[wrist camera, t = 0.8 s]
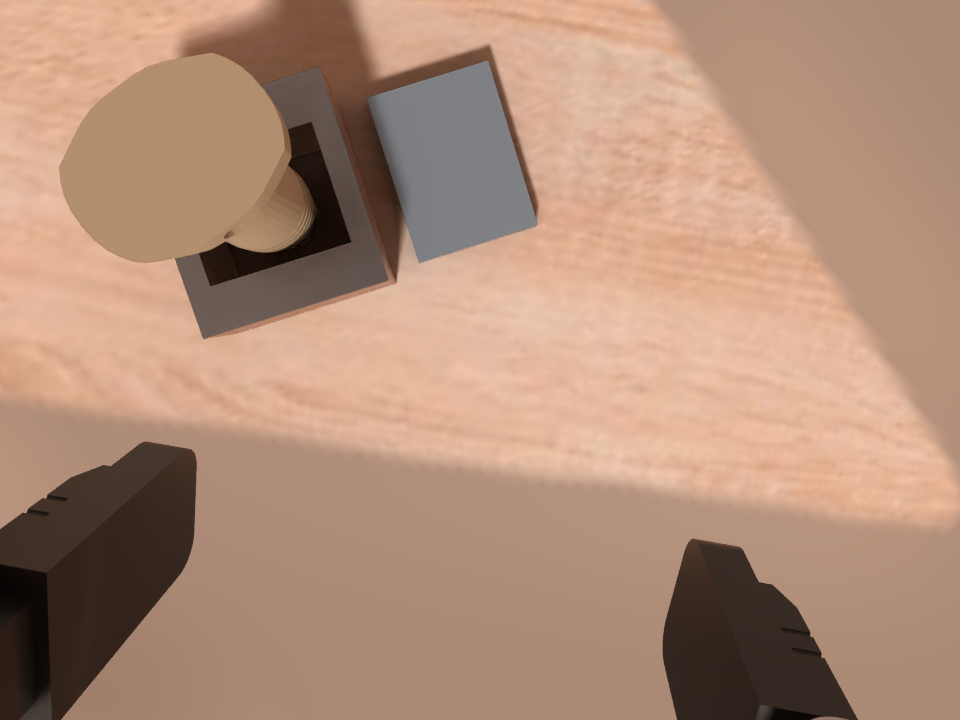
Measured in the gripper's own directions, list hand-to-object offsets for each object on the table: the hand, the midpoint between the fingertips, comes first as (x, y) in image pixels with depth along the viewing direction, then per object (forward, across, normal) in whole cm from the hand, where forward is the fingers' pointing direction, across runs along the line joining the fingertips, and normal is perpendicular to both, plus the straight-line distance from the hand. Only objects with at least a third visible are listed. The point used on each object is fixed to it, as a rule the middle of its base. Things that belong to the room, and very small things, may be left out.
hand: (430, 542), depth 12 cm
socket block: (+25, +11, -1) cm, 27 cm away
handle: (+25, +11, -1) cm, 27 cm away
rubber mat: (+26, +3, -4) cm, 27 cm away
